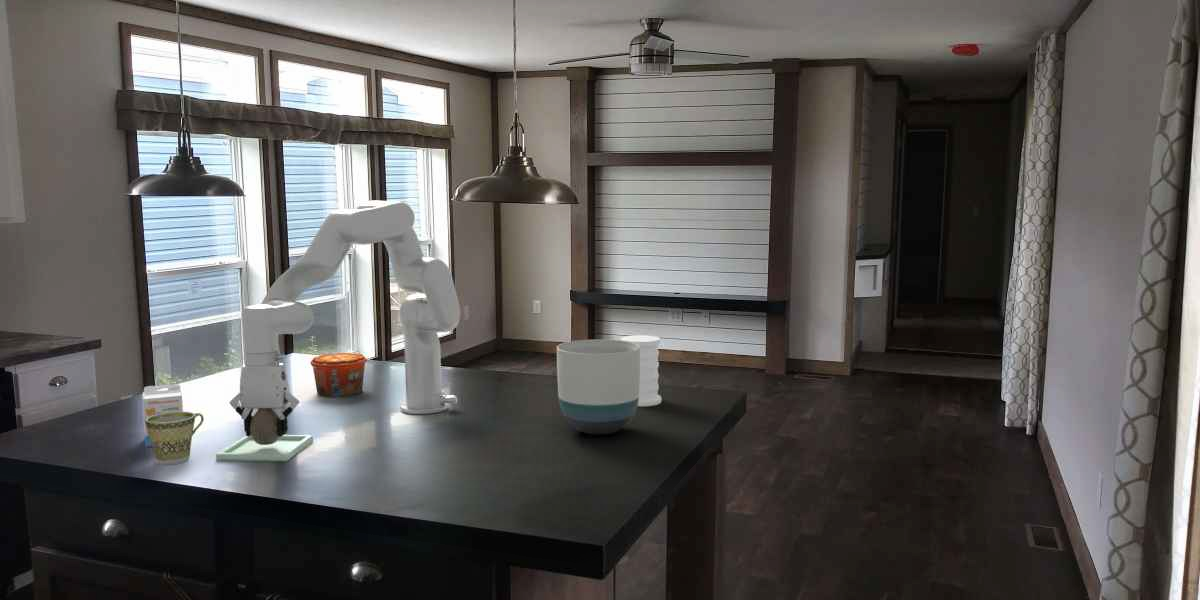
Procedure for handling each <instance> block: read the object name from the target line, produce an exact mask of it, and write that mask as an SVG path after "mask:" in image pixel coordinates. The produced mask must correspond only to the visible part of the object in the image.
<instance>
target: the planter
mask: <svg viewBox="0 0 1200 600" xmlns="http://www.w3.org/2000/svg"><path fill="white" fill-rule="evenodd" d="M556 373H557V394H558V403H559V406H560V410H561V413H562V416H563V417H564V418H565V420H566V421H567V422H568V423H569V424H570V425H571V426H572V427H573V428H574V429H576V430H577V431H579V432H581V433H584V434H588V435H595V436H596V435H600V436H602V435H609V434H614V433H616V432H618V431H620V430H622V429H623V428H624V427H626V426H627V425H628V424H629V423H630V422H631V421H632V419H633V418H634V416H635V414H636V412H637V409H638V406H637V405H638V400H639V384H640V346H639V345H638V344H636V343H632V342H627V341H621V339H620V340H619V339H583V340H582V339H581V340H579V339H578V340H573V341H567V342H564V343H563V342H562V343H559V344H558V345H557V346H556Z"/></svg>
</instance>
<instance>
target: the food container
mask: <svg viewBox="0 0 1200 600" xmlns="http://www.w3.org/2000/svg"><path fill="white" fill-rule="evenodd" d="M367 361H368V358H367V357H365V356H364V355H363V354H361V353H355V352H354V353H350V352H337V353H332V354H331V353H326V354H321V355H318V356H314V357H313V358H312V360H311V361H310V365H311V367H312V369H313V371H312V372H313V375H314V377H313V378H314V382H315V383H314V384H315V388H316V394H317V395H318V396H320V397H324V398H344V397H345V398H347V397H352V396H356V395H359V394H361V393H362V392H363V387H364V377H365V376H364V374H365V365H366V362H367Z"/></svg>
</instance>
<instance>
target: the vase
mask: <svg viewBox="0 0 1200 600" xmlns="http://www.w3.org/2000/svg"><path fill="white" fill-rule="evenodd" d="M252 416H253V418H252V420H251V423H250V433H251V436H252V438H253V440H254V441H255V442H256V443H257V444H259V445H269V444H273V443H275V442H276V441H277V440H278V439H279V436H278V427H277V420H278V419H279V416H278V415H277V413H276V411H275V409H257V410H256V411H255V413H254V414H253V415H252Z"/></svg>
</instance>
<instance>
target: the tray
mask: <svg viewBox="0 0 1200 600" xmlns="http://www.w3.org/2000/svg"><path fill="white" fill-rule="evenodd" d="M313 441H314V435H313V434H284V435H283V436H282V437H279V439H278V440H277V441H276V442H275V443H273V444H269V445H259V444H257V443H256V442H255V441H254V440H253V438H252V436H251V435H250V436H246V435H244V436H243V437H241V438H240V439H237V440H236V441H235V442H233V443H231V444H230V445H228V446H226V447H224V448H223V449H221V450H220V451H218V452H217V453H215V459H216V461H218V462H219V461H222V462H224V461H225V462H226V461H231V462H232V461H233V462H288V461H290V460H291V459H292V458H293V457H294V456H296V455H297V454H298V453H300V452H301V451H302V450H303V449H305V448H306V447H307V446H309V445H310V444H311V443H313Z"/></svg>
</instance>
